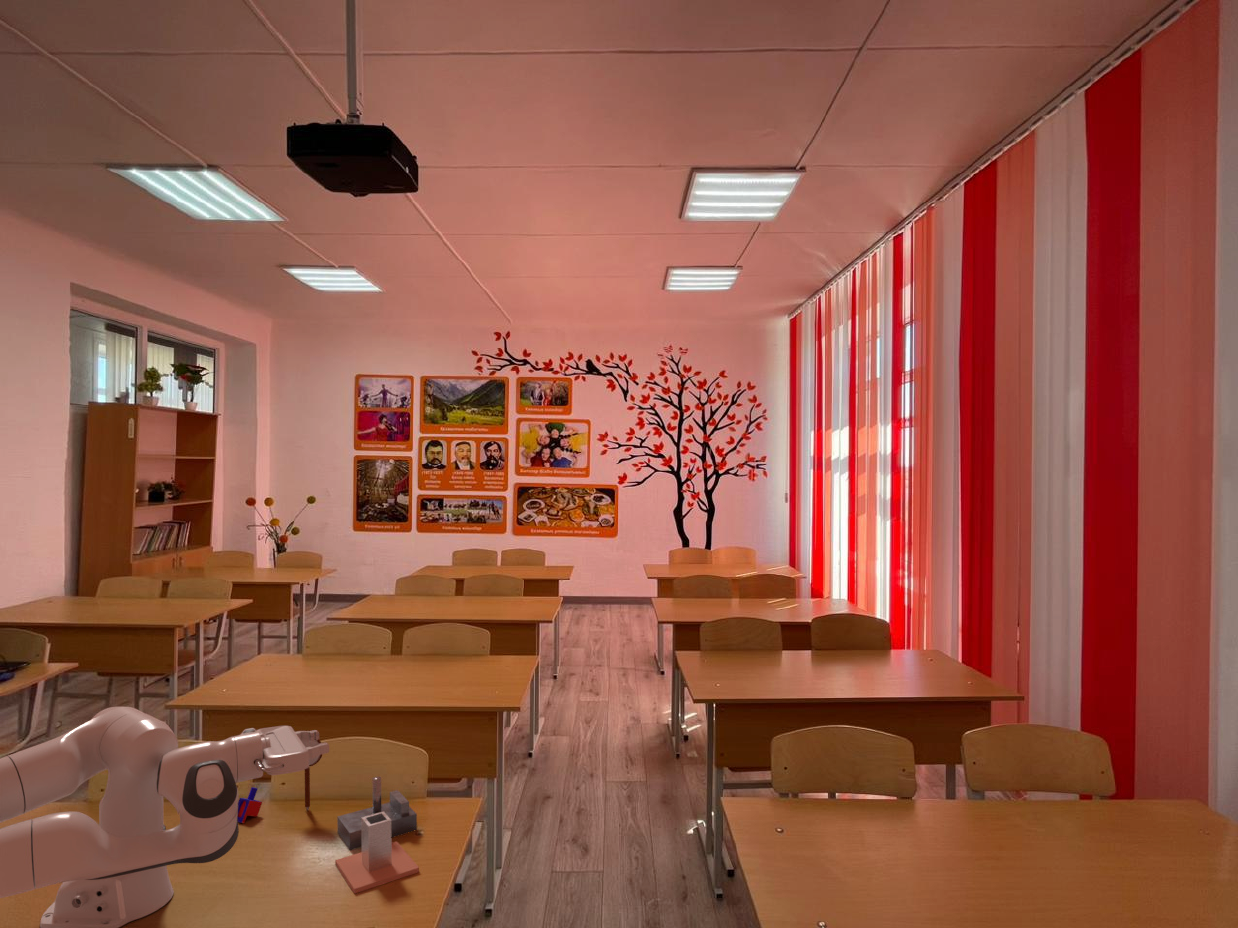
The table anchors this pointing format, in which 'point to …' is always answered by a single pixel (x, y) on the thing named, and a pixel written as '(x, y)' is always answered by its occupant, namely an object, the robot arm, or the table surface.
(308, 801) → the magnifying glass
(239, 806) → the toy building block
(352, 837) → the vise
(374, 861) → the steel sleeve
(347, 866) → the terracotta mat
